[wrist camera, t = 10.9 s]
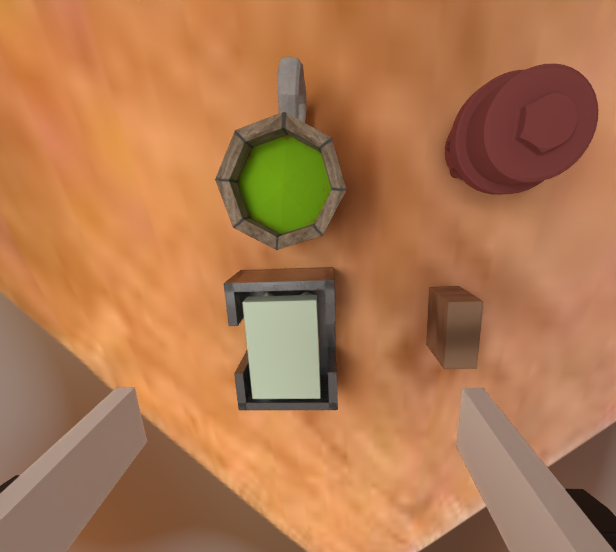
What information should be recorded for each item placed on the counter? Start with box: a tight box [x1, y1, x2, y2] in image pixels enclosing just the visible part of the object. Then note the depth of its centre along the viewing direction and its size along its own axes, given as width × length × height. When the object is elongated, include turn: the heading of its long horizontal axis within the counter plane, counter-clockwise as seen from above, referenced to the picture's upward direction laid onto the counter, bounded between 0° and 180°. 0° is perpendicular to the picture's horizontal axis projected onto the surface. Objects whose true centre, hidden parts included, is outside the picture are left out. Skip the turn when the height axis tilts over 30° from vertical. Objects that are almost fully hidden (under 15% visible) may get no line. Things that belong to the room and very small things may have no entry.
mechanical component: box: [445, 64, 598, 194], centre depth 28 cm, size 12×10×10 cm
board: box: [243, 295, 321, 399], centre depth 34 cm, size 12×8×2 cm, turn 3°
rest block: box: [426, 286, 483, 369], centre depth 35 cm, size 8×4×6 cm, turn 3°
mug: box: [215, 57, 346, 250], centre depth 29 cm, size 16×11×12 cm
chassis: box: [224, 267, 338, 410], centre depth 37 cm, size 16×12×6 cm
